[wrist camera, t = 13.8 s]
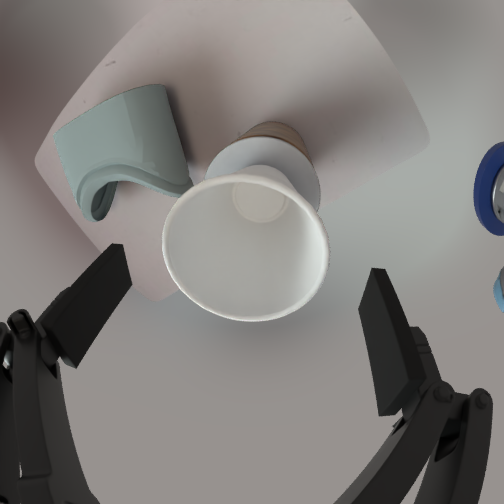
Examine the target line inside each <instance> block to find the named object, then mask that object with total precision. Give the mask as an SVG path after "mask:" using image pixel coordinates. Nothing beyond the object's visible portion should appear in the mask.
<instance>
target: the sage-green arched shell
mask: <svg viewBox="0 0 504 504" xmlns="http://www.w3.org/2000/svg"><path fill="white" fill-rule="evenodd" d="M53 138H54V141H55V144H56V148H57V151H58V154H59V157H60V160H61V163H62V166H63V169H64V172H65V175H66V177H67V180H68V182H69V185H70V187H71V189H72V192H73V195H74V199H75V201H76V203H77V205H78V206H79V208H80V209H81V211H82V213H83V216H84V217H85V218H86V219H87V220H89V221H92V222H97V221H100V220H103V219H104V218H105V216H106V215H107V213H108V211H109V209H110V207H111V204H112V201H113V198H114V194H115V191H116V187H117V183H118V181H120V180H126V181H132V182H135V183H138V184H141V185H143V186H146V187H148V188H150V189H153V190H155V191H157V192H160V193H162V194H165V195H168V196H171V197H176V198H179V197H181V196H182V195H183V194H184V193H185V192H186V191H188V190H189V189H190V188H191V187H193V186H194V185H193V182H192V180H191V178H190V177H189V171H188V166H187V163H186V159H185V156H184V152H183V149H182V146H181V142H180V139H179V136H178V132H177V129H176V126H175V122H174V119H173V115H172V112H171V108H170V105H169V101H168V97H167V93H166V90H165V86H164V85H160V84H156V85H147V86H142V87H138V88H135V89H131V90H128V91H126V92H123V93H121V94H118V95H116V96H114V97H112V98H110V99H108V100H106V101H104V102H102V103H100V104H99V105H97V106H95V107H93V108H92V109H90V110H88V111H87V112H85V113H83V114H82V115H80V116H79V117H77V118H75V119H74V120H72V121H71V122H69V123H68V124H66V125H65V126H63V127H62V128H61V129H59V130H58V131H57V132H56V133H55V134H54V135H53Z"/></svg>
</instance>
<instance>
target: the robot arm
mask: <svg viewBox="0 0 504 504" xmlns="http://www.w3.org/2000/svg"><path fill="white" fill-rule="evenodd" d="M490 203H491V208H492V211H493V214H494V215H495V217H496V218H497V219H498V220H500V221H501V222H502V223H504V164H503V165H502V166H501V167H500V168H499V169H498V171H497V173H496V174H495V177H494V179H493V182H492V186H491V193H490ZM131 286H132V281H131V277H130V273H129V269H128V265H127V261H126V256H125V252H124V247H123V244H113V243H112V244H111V245H110V246H109V247H108V248H107V249H106V250H105V251H104V252H103V253H102V254H101V255H100V256H99V257H98V258H97V259H96V260H95V261H94V262H93V263H92V264H91V265H90V266H89V267H88V268H87V269H86V270H85V271H84V273H82V275H81V276H80V277H79V278H78V279H77V280H76V281H75V282H74V283H73V284H72V285H71V287H68V288H66V289H65V290H63V291H62V292H60V294H59V295H58V296H57V297H56V298H55V300H54V301H52V303H51V304H50V305H49V306H48V307H47V309H46V310H45V311H44V312H43V313H42V315H41V316H40V317H39V318H38V319H37V321H36V322H35V323H34V322H33V320H32V318H31V316H30V315H29V313H28V312H27V310H25V309H20V310H17V311H15V312H14V313H12V314H11V315H10V317H9V318H8V320H7V323H8V325H9V327H10V329H11V330H9V329H8V327H7V325H6V324H5V323H3V322H0V504H20V503H21V504H100V503H99V501H98V500H97V498H96V497H95V496H94V495H93V494H92V493H91V491H90V490H89V487H88V485H87V482H86V479H85V477H84V474H83V471H82V468H81V465H80V462H79V458H78V455H77V452H76V448H75V445H74V441H73V438H72V433H71V430H70V425H69V420H68V416H67V411H66V406H65V401H64V394H63V388H62V382H61V374H60V366H59V363H58V361H57V360H58V358H59V357H61V359H62V360H63V362H64V363H65V364H66V365H69V366H71V367H74V368H77V367H78V365H79V363H80V362H81V360H82V359H83V357H84V355H85V354H86V352H87V351H88V349H89V347H90V346H91V344H92V343H93V341H94V340H95V338H96V337H97V335H98V334H99V332H100V330H101V329H102V327H103V326H104V324H105V323H106V321H107V320H108V319H109V317H110V316H111V314H112V313H113V311H114V310H115V308H116V307H117V305H118V304H119V302H120V301H121V300H122V298H123V297H124V295H125V294H126V293H127V291H128V290H129V289H130V287H131ZM493 289H494V290H493V291H494V296H495V299H496V302H497V304H498V306H499V308H500V309H501V311H502V312H504V267H503V268H502V269H501V271H500V273H499V276H498V278H497V280H496V281H495V284H494V288H493ZM358 310H359V315H360V319H361V323H362V327H363V332H364V336H365V341H366V345H367V350H368V355H369V360H370V366H371V371H372V376H373V382H374V387H375V394H376V400H377V407H378V414H379V416H390V415H395V414H396V413H397V412H398V411H399V410H400V409H401V408H402V413H403V416H402V417H401V418H400V419H399V420H398V421H397V422H396V423H395V424H394V425H393V427H394V429H393V430H392V432H391V433H390V435H389V436H388V438H387V439H386V441H385V442H384V444H383V445H382V446H381V448H380V449H379V451H378V452H377V453H376V455H375V456H374V457H373V459H372V460H371V461H370V462H369V464H368V465H367V466H366V467H365V469H364V470H363V471H362V472H361V474H360V475H359V476H358V477H357V479H356V480H355V481H354V482H353V483H352V484H351V485H350V487H349V488H348V489H347V490H346V491H345V492H344V493H343V494H342V495H341V496H340V497H339V498H338V500H337V501H336V502H335V503H334V504H400V503H401V502H402V500H403V499H404V497H405V496H406V494H407V493H408V491H409V490H410V488H411V487H412V485H413V484H414V482H415V481H416V479H417V477H418V476H419V474H420V472H421V471H422V469H423V467H424V465H425V464H426V462H427V460H428V458H429V456H430V458H429V462H428V465H427V468H426V471H425V475H424V477H423V480H422V484H421V486H420V489H419V492H418V494H417V497H416V499H415V502H414V504H478V501H479V497H480V493H481V490H482V485H483V481H484V476H485V471H486V466H487V460H488V454H489V446H490V438H491V428H492V413H493V402H492V398H491V396H490V394H489V393H488V392H487V391H486V390H484V389H482V388H477V389H475V390H474V391H473V392H472V393H471V394H470V395H467V394H461V393H456V392H455V391H454V390H453V388H452V386H451V385H449V384H448V383H447V382H444V381H442V379H441V377H440V373H439V371H438V368H437V365H436V362H435V359H434V356H433V354H432V353H431V352H432V351H431V348H430V346H429V343H428V341H427V338H426V336H425V334H424V333H423V332H422V331H421V329H420V328H419V327H409V324H408V322H407V319H406V316H405V314H404V311H403V309H402V306H401V304H400V302H399V299H398V297H397V294H396V292H395V290H394V288H393V285H392V283H391V281H390V279H389V276H388V274H387V272H386V270H385V269H379V268H372V269H371V272H370V275H369V278H368V281H367V285H366V288H365V291H364V294H363V297H362V300H361V303H360V306H359V308H358ZM4 361H5V362H6V363H7V364H8V366H7V368H5V367H4V366H3V362H4ZM20 465H21V470H22V477H21V478H20Z"/></svg>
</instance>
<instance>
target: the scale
mask: <svg viewBox="0 0 504 504" xmlns="http://www.w3.org/2000/svg"><path fill="white" fill-rule="evenodd" d="M252 165H267V166H270V167H273V168H276V169H277V170H279V171H281V172H282V173H283V174H284V175H285V176H286V177H287V178H288V180H289V181H290V182H291V184H292V185H293V187H294V188H295V189H296V191H297V192H298V193H299V194H300V195H301V196H302V197H303V198H304V199H305V200H306V201H308V202H309V203H310V204H311V205H312V207H313V208H314V209H315V211H316V212H317V211H318V209H319V204H320V185H319V180H318V177H317V175H316V172H315V170H314V168H313V166H312V164H311V163H310V161H309V160H308V159H307V157H306V156H305V155H304V154H303V153H302V152H301V151H299V150H298V149H297V148H295V147H294V146H292V145H290V144H289V143H287V142H285V141H282V140H280V139H276V138H272V137H249V138H245V139H241V140H239V141H236V142H234V143H232V144H230V145H229V146H227V147H226V148H224V149H223V150H222V151H221V152H220V153H219V154H218V155H217V156H216V157H215V158H214V159H213V161H212V162H211V164H210V165H209V167H208V169H207V172H206V175H205V178H204V180H206V179H209V178H213V177H216V176H220V175H224V174H231V173H233V172H236V171H238V170H240V169H243V168H245V167H248V166H252Z"/></svg>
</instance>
